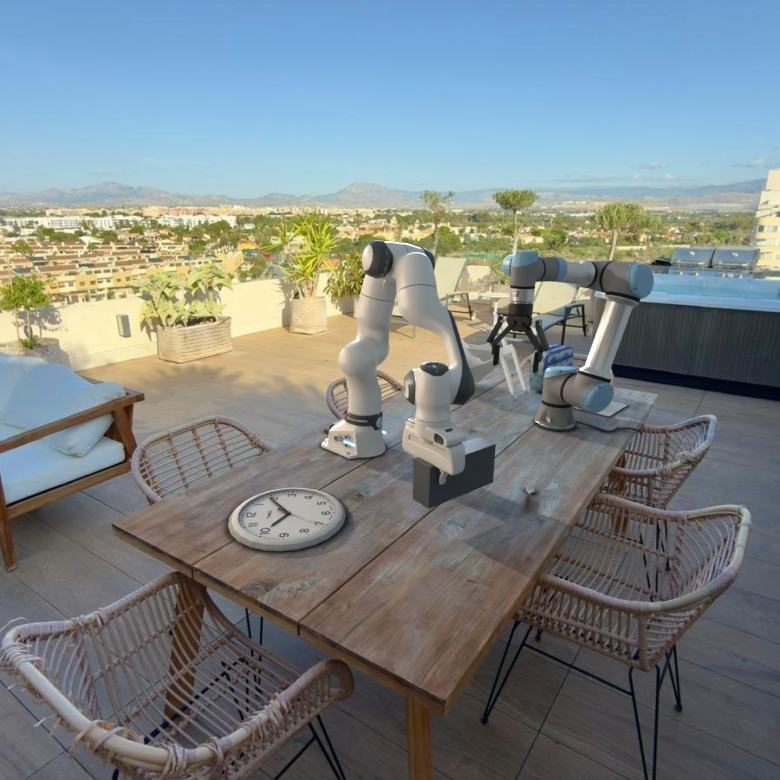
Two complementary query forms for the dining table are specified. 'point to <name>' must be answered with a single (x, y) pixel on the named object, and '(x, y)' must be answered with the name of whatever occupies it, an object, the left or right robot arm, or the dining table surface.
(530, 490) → the fork
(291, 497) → the wall clock
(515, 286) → the right robot arm
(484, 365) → the white plastic object
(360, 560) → the dining table surface
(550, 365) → the lunch box
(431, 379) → the left robot arm
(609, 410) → the invitation card
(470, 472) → the box
